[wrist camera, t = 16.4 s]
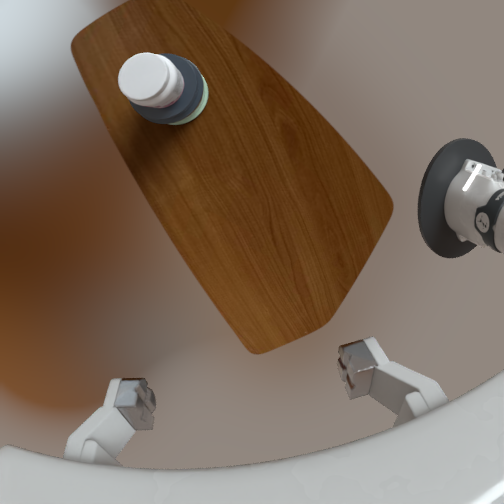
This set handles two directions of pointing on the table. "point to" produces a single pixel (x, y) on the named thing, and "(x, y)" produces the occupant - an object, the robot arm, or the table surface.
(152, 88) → the pill bottle
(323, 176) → the table surface
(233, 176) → the table surface
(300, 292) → the table surface
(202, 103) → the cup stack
